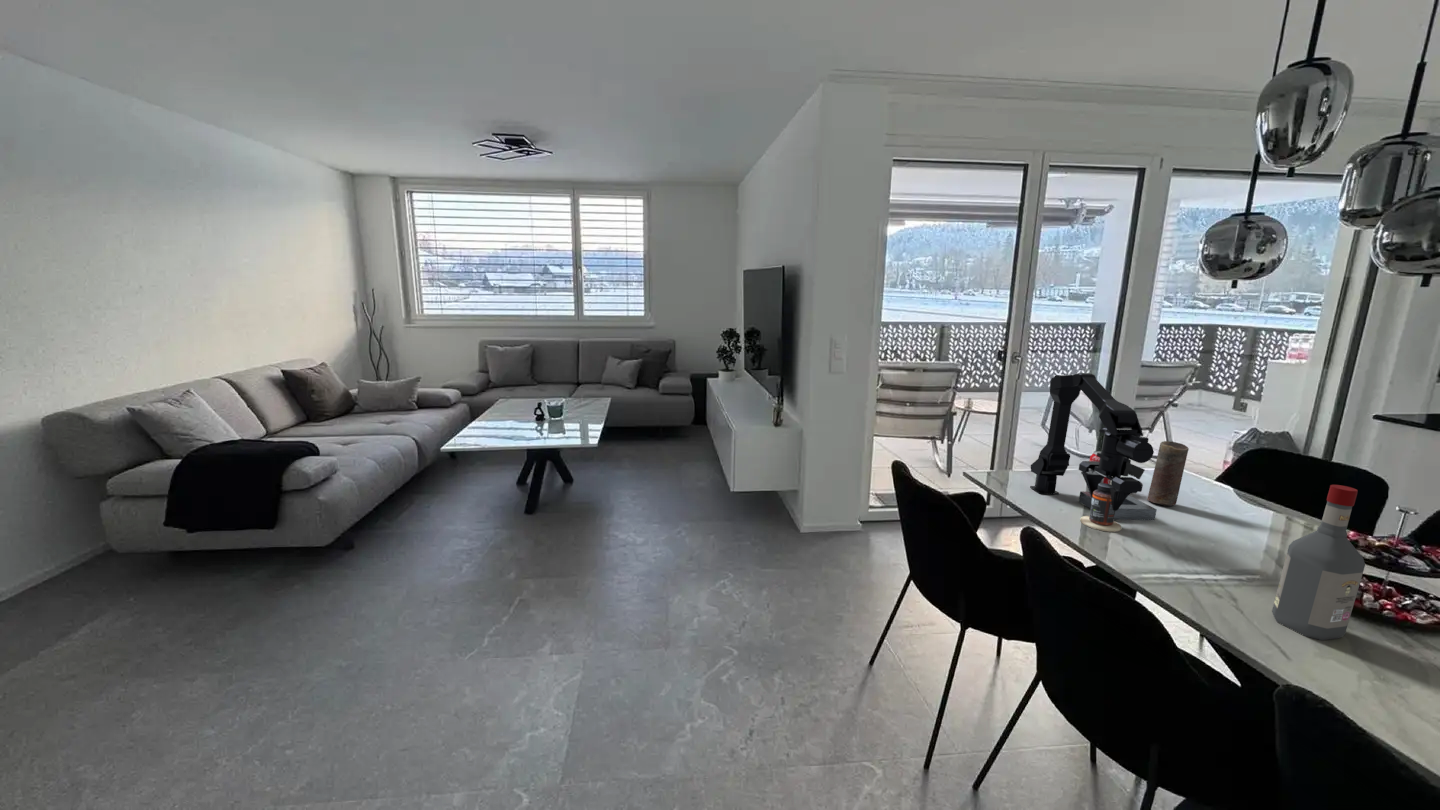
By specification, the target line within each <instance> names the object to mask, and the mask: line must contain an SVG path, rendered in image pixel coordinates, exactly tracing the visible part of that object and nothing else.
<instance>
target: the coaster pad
mask: <svg viewBox="0 0 1440 810" xmlns="http://www.w3.org/2000/svg"><path fill="white" fill-rule="evenodd" d="M1089 517H1090V515H1083V516H1081V517H1080V519H1079V520H1080V521H1079V522H1080V523H1081V524H1082V525H1084V526H1086V527H1089V528H1091V529H1094V530H1096V531H1101V532H1108V533H1117V532H1118V533H1119V532H1120V531H1121V530H1122V527H1123V526H1122V525H1121V524H1120V523H1118V522H1117V521H1115V520H1114V523H1113V524H1112V525H1109V526H1104V525H1099V524H1096V523H1093V522H1091V521H1090V519H1089Z"/></svg>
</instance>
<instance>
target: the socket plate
mask: <svg viewBox="0 0 1440 810" xmlns="http://www.w3.org/2000/svg"><path fill="white" fill-rule="evenodd" d="M1078 503H1080V504H1082V505H1083V506H1084V507H1087V508H1088V509H1090V510H1091V503H1092V498H1091V495H1090V492H1089V491H1080V492H1079V497H1078ZM1156 515H1157V508H1154V507H1153V506H1151V505H1149V504H1147V503H1145V502H1144V501H1141V500H1139V499H1137V498H1135V497H1134V496H1132V495H1131V494H1130V495H1128V496H1127V498H1126V499H1125V500H1124V502H1123V503H1122V504H1121V506H1120V507H1119V509H1118V510H1117V511H1115V517H1114V521H1115V520H1117V521H1119V520H1121V521H1155V520H1156Z"/></svg>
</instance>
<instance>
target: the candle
mask: <svg viewBox="0 0 1440 810" xmlns="http://www.w3.org/2000/svg"><path fill="white" fill-rule="evenodd" d="M1189 450H1190V449H1189V447H1188V446H1187V445H1185V444H1183V443H1179V442H1175V441H1171V440H1170V441H1169V440H1164V441H1161V442H1160V443H1159V447H1158V452H1157V457H1156V460H1155V465H1154V470H1153V474H1152V478H1151V482H1150V486H1149V490H1148V493H1147V499H1146V500H1147V501H1149V502H1151V503H1154V504H1157V505H1161V506H1165V507H1170V506H1174V505H1176V504H1177V503H1178V497H1179V494H1180V488H1181V484H1182V479H1183V474H1184V469H1185V466H1186V462H1187V458H1188V453H1189Z"/></svg>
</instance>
